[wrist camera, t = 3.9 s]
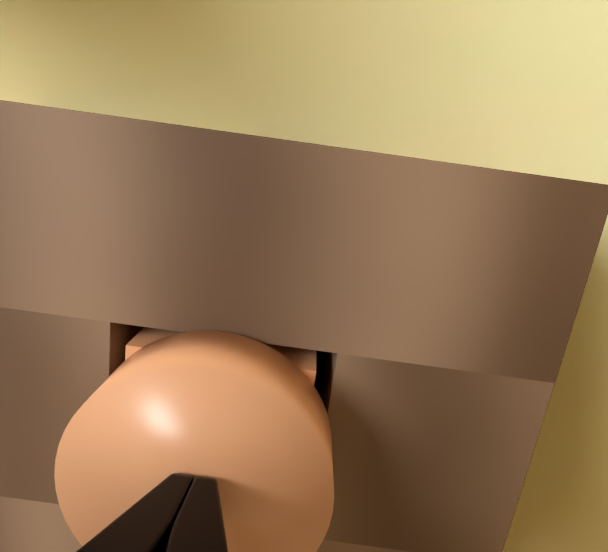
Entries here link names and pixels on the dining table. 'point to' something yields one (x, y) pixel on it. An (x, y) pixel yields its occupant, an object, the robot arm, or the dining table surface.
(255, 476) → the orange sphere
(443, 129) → the dining table surface
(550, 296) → the brown flat block
